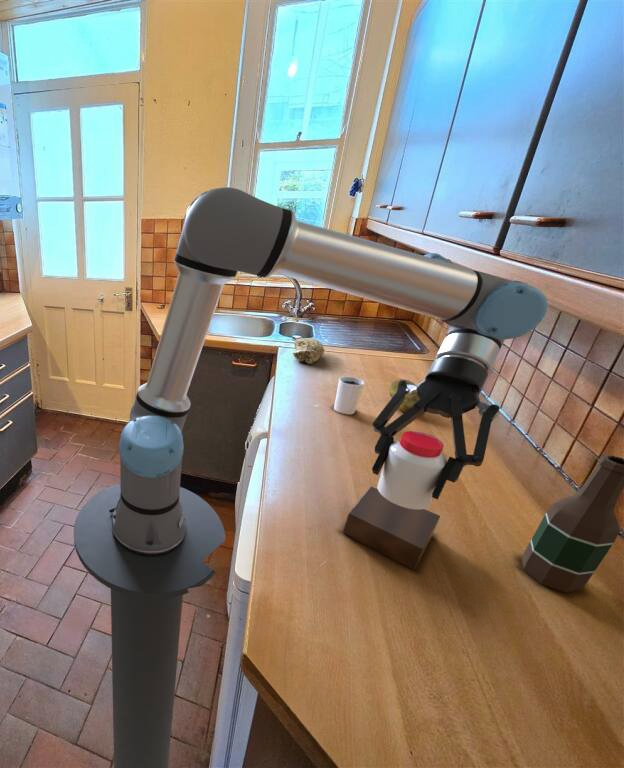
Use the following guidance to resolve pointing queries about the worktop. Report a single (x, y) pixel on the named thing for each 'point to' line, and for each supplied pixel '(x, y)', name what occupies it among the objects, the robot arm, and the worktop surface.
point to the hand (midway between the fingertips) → (403, 483)
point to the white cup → (348, 394)
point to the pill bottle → (412, 470)
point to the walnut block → (391, 527)
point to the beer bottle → (577, 531)
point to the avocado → (409, 400)
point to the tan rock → (308, 350)
